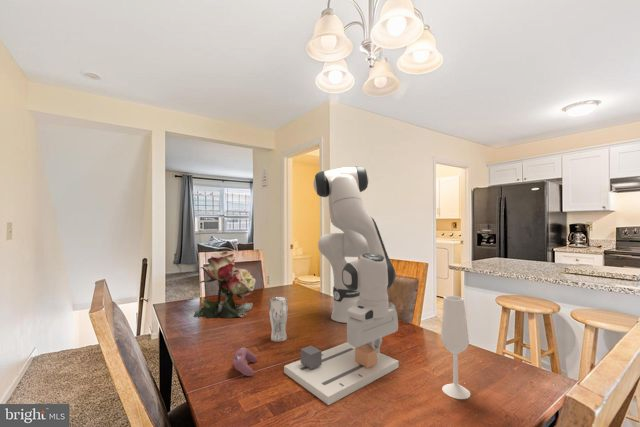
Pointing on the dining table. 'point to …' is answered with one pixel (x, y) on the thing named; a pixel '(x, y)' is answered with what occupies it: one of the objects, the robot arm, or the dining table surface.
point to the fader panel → (339, 373)
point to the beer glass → (278, 318)
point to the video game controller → (244, 361)
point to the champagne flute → (454, 340)
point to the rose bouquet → (227, 287)
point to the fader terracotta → (366, 356)
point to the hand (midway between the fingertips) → (374, 353)
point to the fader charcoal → (311, 357)
